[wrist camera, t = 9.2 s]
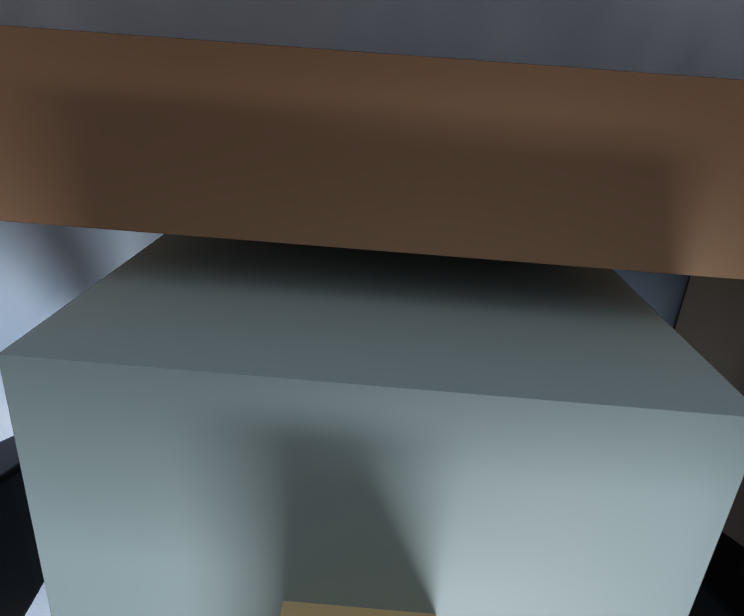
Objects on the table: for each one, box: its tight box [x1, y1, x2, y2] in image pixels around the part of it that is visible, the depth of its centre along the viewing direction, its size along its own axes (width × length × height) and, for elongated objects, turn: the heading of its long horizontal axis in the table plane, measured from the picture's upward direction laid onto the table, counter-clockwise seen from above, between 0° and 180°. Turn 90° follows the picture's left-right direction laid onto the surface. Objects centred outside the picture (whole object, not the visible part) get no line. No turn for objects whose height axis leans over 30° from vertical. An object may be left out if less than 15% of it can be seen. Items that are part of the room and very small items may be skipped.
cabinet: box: [0, 234, 744, 616], centre depth 7 cm, size 7×5×7 cm
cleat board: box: [0, 25, 744, 547], centre depth 8 cm, size 11×19×4 cm, turn 86°
